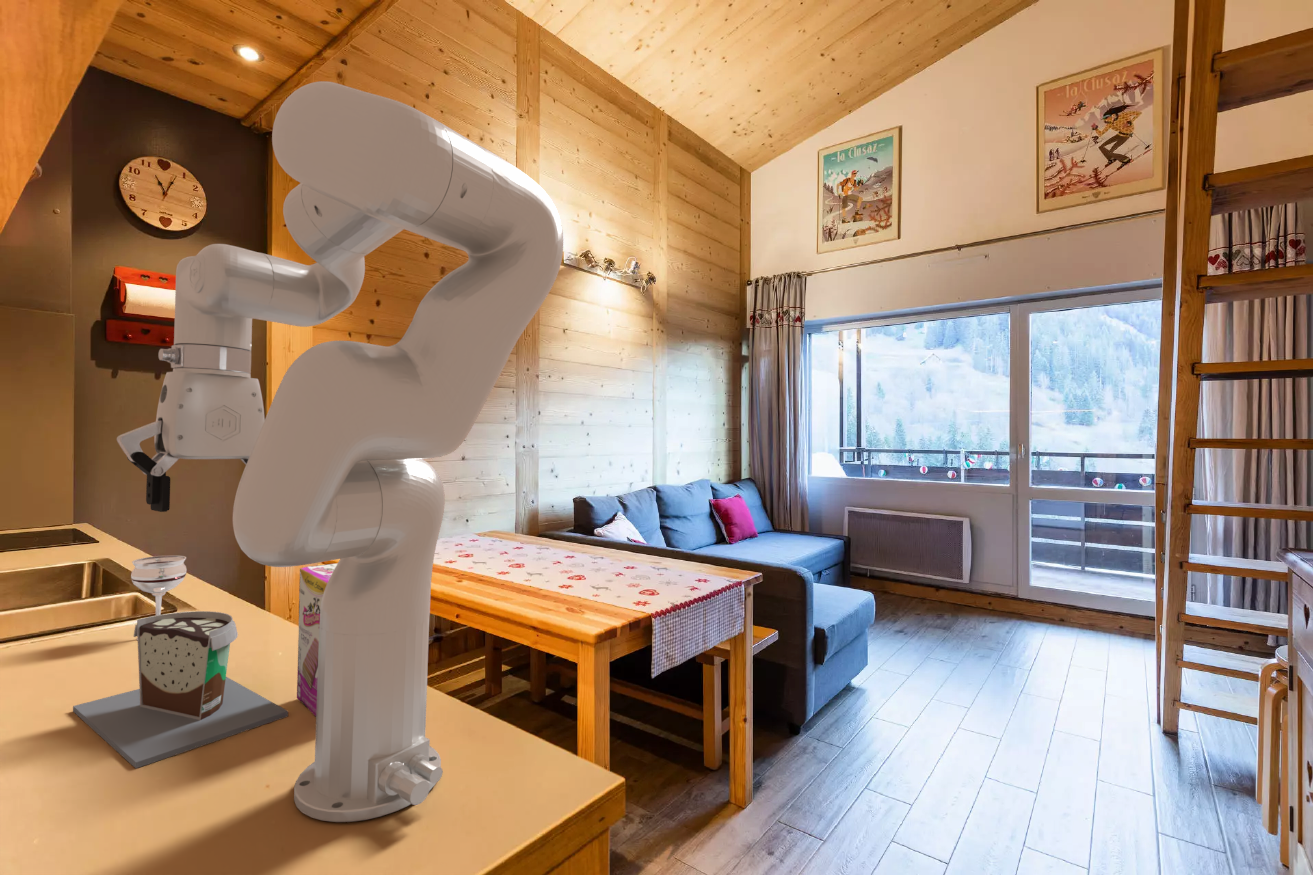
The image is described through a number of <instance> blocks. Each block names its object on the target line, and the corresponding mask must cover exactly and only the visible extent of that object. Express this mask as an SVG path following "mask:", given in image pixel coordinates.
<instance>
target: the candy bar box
mask: <svg viewBox="0 0 1313 875" xmlns="http://www.w3.org/2000/svg"><path fill="white" fill-rule="evenodd" d="M337 564H338V562H337V563H329V564H320V565H318V564H317V565H315V566H313V565H310V566H306V567H302V568H301V567H300V568H299V585H298V586H299V587H298V589H299V590H298V591H299V593H298V594H299V597H298V599H299V600H298V642H297V646H298V648H297V653H298V654H297V678H296V679H297V680H296V681H297V682H296V684H297V686H296V699H297V700H298V701H300V703H301V704H302V705H303V706H305V707H306V709H307V710H308V711H310V713H311V714H312V715H313V716H315V717H316V710H317V681H318V651H319V625H320V608H321V602H322V597H323V594H324V591H325V588H326V585H327V583H328V581H329V579H330V577H331V575H332V573H333V571H334V569H335V567H336V566H337Z"/></svg>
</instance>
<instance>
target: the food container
mask: <svg viewBox="0 0 1313 875" xmlns="http://www.w3.org/2000/svg"><path fill="white" fill-rule="evenodd" d="M136 621H137V622H136V624H135V626H134V632H133V637H134V638H136V639H137V638H138V640H137V658H138V660H137V661H138V681H139V684H138V685H139V689H140V707H143V708H148V709H152V710H157V711H161V712H166V713H170V714H175V715H179V716H184V717H188V718H193V719H197V720H202V719H204V718H206V717H208V716H210V715H212V714H213V713H215V712H216V711H217V710H219V708H220V707H221V705H222V703H223V696H224V688H225V680H226V677H227V670H228V663H229V655H230V648H231V643H233V642H234V641H235V640H236V639H237V638H238V635H239V634H238V629H237V626H236V622H235V621H234V620H233V617H232V615H230V614H228V613H224V612H219V611H211V610H210V611H201V610H200V611H199V610H198V611H183V612H181V611H180V612H174V613H173V612H172V613H163V614H160V615H157V616H156V615H151V616H148V617H144V618H140V619H139V618H137V620H136Z"/></svg>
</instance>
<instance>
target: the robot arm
mask: <svg viewBox="0 0 1313 875" xmlns="http://www.w3.org/2000/svg"><path fill="white" fill-rule="evenodd" d="M271 133H272V134H271V136H272V137H271V142H272V143H271V144H272V149H273V153H274V156H275V159H276V161H277V163H278V164H279V166H280V167H281V168H282V170H283V171H284V172H285V173H286V174H287V175H288V176H289V177H291V178H292V179H293V180H295V181H296V182H299V184H297V186H295V187H294V188H293V189H291V190H289V193H287V195H286V196H285V200H284V202H283V208H282V213H283V219H284V223H285V225H286V228H287V231H288V232H289V234H290V235H291V237H292V239H293V240H294V242H295V243H296V244H297V245H298V247H299V248H300V249H301V250H302V251H303V252H304V253H305V254H306V255H307V256H308V257H309V258H311V259H312V260H314V261H315V263H313V264H310V265H307V264H304V263H300V262H297V261H294V260H290V259H285V258H282V257H278V256H276V255H271V254H266V253H263V252H257V251H254V250H250V249H247V248H243V247H240V246H235V245H230V244H226V243H212V244H209V245H207V246H204V247H203V248H202V249H201V250H199V251H198V253H197V254H196V255H191V256H187V257H184V258H181V260H179V262H178V263H177V265H176V271H175V291H174V292H175V298H174V326H173V327H174V330H173V332H174V333H173V337H174V338H173V345H171V348H160V349H159V350H158V356H157V357H158V359H159V361H164V362H167V363H169V364H170V368H171V369H172V371H166V374H165V375H164V379H163V384H162V387H161V389H160V390H161V391H160V395H159V399H158V404H157V410H156V418H155V421H154V422H151V423H148V424H145V425H143V426H141V427H137V428H134V429H133V430H129V431H126V432H125V433H122V434H120V435H118V436H117V437H116V441H117V444H118V445H119V447H120V448H121V450H122V452H123V453H124V454H125V455H126V458H127V460H128V461H129V462H130V463H131V464H133V465H134V466H135V467H136V468H137V469H139V470H140V471H141V472H142V474H143V475H146V486H145V487H146V492H145V494H146V496H145V497H146V498H145V501H146V504H147V505H150V510H151V511H155V512H159V513H165V512H166V513H167V512H168V511H169V510H170V507H171V504H170V503H171V477H170V476H169V475H167V471H168V470H169V469H171V468H172V466H173V465H175V463H177V462H178V460H179V459H183V460H231V459H232V460H233V459H234V460H237V459H238V460H240V461H241V462H242V463H244V465H245V467H244V469H243V472H242V474H241V477H240V480H239V483H238V486H237V489H236V493H235V496H234V497H235V498H234V502H233V508H232V528H233V533H234V536H235V540H236V542H237V544H238V546H239V548H240V550H241V551H242V552H243V553H244V554H245V555H246V556H247V557H248V558H249V559H251V560H253V561H254V562H256V563H258V564H260V565H264V566H267V567H274V568H290V567H299V566H305V565H311V564H318V563H323V562H328V561H335V560H339V561H338V562H337V563H338V564H337V563H336V564H337V566H336V567H335V569H334V571H333V573H332V575H331V577H330V579H329V581H328V583H327V585H326V588H325V591H324V594H323V597H322V602H321V608H320V625H319V651H318V681H317V710H316V716H315V746H314V762H312V763H311V764H309V765H308V766H307V767H306V768H305V769H304V770H303V771H302V772H301V773H300V774H299V776H298V777H297V779H296V781H295V784H294V788H293V790H294V792H293V793H294V794H293V797H294V798H293V801H294V804H295V806H296V808H297V809H298V810H299V811H300V812H301V813H302V814H304V815H306V816H307V817H310V818H313V819H316V820H320V821H324V822H331V823H346V822H347V823H350V822H359V821H360V822H361V821H367V820H371V819H376V818H380V817H383V816H385V815H386V816H387V815H390V814H392V813H395V812H397V811H399V810H402V809H404V808H406V807H409V806H410V805H414V806H417V805H420V804H422V803H424V801H425V800H426V798H427V797H428V795H429V793H430V791H431V790H432V788H434V786H436V784H437V783H438V782H439V781H440V779H441V778H442V777H443V773H444V772H443V768H442V767H441V766H442V765H441V764H442V759H441V756H440V754H439V752H437V750H436V749H435V748H434V747H432V746H430V744H431V743H430V738H428V737H427V736H426V729H427V728H426V726H427V724H426V723H427V722H426V721H427V720H426V719H427V698H428V696H427V695H428V663H429V641H430V639H429V638H430V637H429V636H430V635H429V634H430V633H429V632H430V616H431V615H430V614H431V592H432V591H431V589H432V575H433V567H434V566H433V565H434V559H435V552H436V547H437V543H438V539H439V535H440V530H441V528H442V523H443V518H444V513H445V506H446V505H445V503H446V502H445V501H446V499H445V498H446V497H445V489H444V484H443V481H442V479H441V477H440V474H439V473H438V472H437V470H436V469H435V467H433V465H432V464H430V462H427V461H426V460H425V459H436V458H440V457H441V458H442V457H445V456H448V455H450V454H452V453H455V451H457V450H458V449H459V448H460V446H461V445H462V444H463V443H464V442H465V439H466V438H467V437H468V435H469V434H470V432H471V430H472V429H473V426H474V424H475V423H476V421H477V420H478V417H479V414H481V411H482V410H483V407H484V406H485V404H486V402H487V400H488V398H489V396H490V394H491V393H492V391H493V389H494V387H495V385H496V383H497V381H498V380H499V377H500V376H501V373H502V372H503V369H504V368H505V366H506V364H507V363H508V360H509V358H510V356H511V354H512V352H513V349H514V347H515V346H516V344H517V342H518V340H519V339H520V337H521V336H522V335H523V333H524V331H525V330H526V328H527V327H528V324H530V322H531V321H532V319H533V318H534V317H535V314H537V312H538V310H539V309H540V308H541V307H542V305H543V303H544V301H545V300H546V298H547V297H548V295H549V294H550V291H551V290H552V288H553V286H554V283H555V282H556V279H557V278H558V274H559V271H560V269H561V265H562V261H563V254H564V232H563V231H564V230H563V225H562V221H561V218H560V215H559V212H558V209H557V208H556V205H555V204H554V202H553V200H552V199H551V197H550V196H549V195H548V193H547V192H546V190H545V189H543V187H541V185H539V184H538V182H536V181H535V179H533V178H531V176H529V175H527V174H526V173H525V172H524V171H522V170H521V169H520V168H518V167H517V166H515V165H514V164H512V163H511V162H509V161H507V160H505V159H504V158H502V157H501V156H499V155H498V154H496V153H494V152H492V151H490V150H489V149H488V148H485V147H483V146H481V145H479V144H477V143H476V142H475V141H473V140H471V139H469V138H467V137H466V136H464V135H462V134H461V133H459V132H457V131H455V130H454V129H452V128H450V127H449V126H447V125H446V124H444V123H442V122H440V121H439V120H437V119H435V118H433V117H431V116H430V115H427V113H424V112H423V111H421V110H418V109H416V108H415V107H412V106H411V105H408V104H406V103H403V102H402V101H398V100H396V99H392V98H389V97H385V96H382V95H378V94H374V93H371V92H368V91H367V92H366V91H363V90H360V89H357V88H354V87H350V86H346V85H343V84H340V83H338V82H333V81H323V80H322V81H321V80H320V81H314V82H311V83H308V84H305V85H302V86H301V87H299V88H297V89H295V90H294V91H293V92H292V93H291V94H290V95H289V96H288V97H286V99H285V100H284V101H283V103H282V104H281V106H280V107H279V109H278V111H277V113H276V115H275V119H274V122H273V126H272V132H271ZM404 230H406V231H408V232H411V233H414V234H416V235H419V236H421V237H423V238H427V239H428V240H432V241H435V242H438V243H440V244H443V245H446V246H449V247H453V248H455V249H457V250H460V251H463V252H465V253H466V254H467V256H468V259H467V261H466V262H465V263H464V264H462V265H460V266H458V267H457V268H455V269H454V270H452V271H450V272H449V273H448V274H446V275H445V276H444V277H442V278H441V279H440V280H439V281H438V282H437V283H435V285H434V286H432V287H431V289H430V290H429V291H428V292H426V294H425V295H424V297H423V298H422V300H421V301H420V302H419V304H418V306H417V307H416V308H417V309H416V311H415V313H414V315H413V318H412V320H411V323H410V324H409V325H408V328H406V331H405V333H404V335H403V336H402V338H400V340H399V341H398V342H397V343H396V344H393V345H392V344H391V345H390V346H384V345H379V344H371V343H367V342H360V341H353V340H352V341H351V340H331V341H330V340H329V341H324V342H321V343H318V344H316V345H313V346H311V347H310V348H309V349H306V350H305V351H304V352H303V353H301V354H300V355H299V356H298V357H297V358H296V359H295V360H294V361H293V363H292V364H291V365H290V366H289V367H288V369H287V370H286V371H285V374H284V376H283V377H282V380H281V381H280V384H279V386H278V388H277V389H276V392H275V394H274V397H273V399H272V402H271V404H270V406H269V409H268V412H267V414H266V416H265V408H264V401H263V400H264V399H263V395H262V390H261V384H260V381H259V379H258V378H253V377H252V376H251V373H252V371H251V370H252V343H253V342H252V341H253V339H252V336H253V335H252V334H253V327H252V326H253V319H255V320H260V321H267V322H271V323H277V324H284V325H287V326H294V327H303V328H307V327H308V328H310V327H313V326H319V325H321V324H323V323H326V322H327V321H329V320H330V319H333V318H334V317H336V316H337V315H339V314H340V313H342V312H344V311H345V310H346V309H348V308H349V307H350V306H351V305H353V303H354V302H355V300H356V298H357V296H358V295H359V293H360V291H361V288H362V286H363V283H364V278H365V275H366V274H365V272H366V266H365V265H366V262H365V260H366V259H365V256H367V255H369V254H370V253H372V252H373V251H375V250H376V249H377V248H378V247H380V246H382V245H383V244H385V242H388V241H389V240H390V239H392V238H393V237H395V236H396V235H397V234H399V233H400V232H402V231H404ZM152 437H154V438H153V439H154V441H153V442H154V443H153V444H154V449H155V452H156V453H155V455H153V456H152V458H151V457H150V456H149V455H147V454H146V453H145V452H144V451H143V450H142V447H141V443H142V442H143V441H145V440H147V439H150V438H152Z"/></svg>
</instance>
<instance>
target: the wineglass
mask: <svg viewBox="0 0 1313 875" xmlns="http://www.w3.org/2000/svg"><path fill="white" fill-rule="evenodd" d="M186 560H187V556H184V555H157V556H156V555H154V556H147V557H142V558H137V559H134V560H132V561H131V563H132V565H133V567H134V568H133V569H132V570H131V573H130V574H131V575H130V579H131V582H132V584H133V585H134V586H136V587H137V588H138V589H139V590H141V591H142V592H146V593H149V594H151V595H152V596H153V597H155V616H157V615H162V614H161V611H162V598H163V596H165V594H166V593H167V592H168V591H170V590H174V589H175V588H177V587H178V586H179V585H180V584H181V583H182V582H183V581H184V579H185V578H186V576H187V571H188V570H187V565H185V563H184V562H185V561H186ZM136 640H137V641H138V638H137V637H136Z"/></svg>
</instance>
